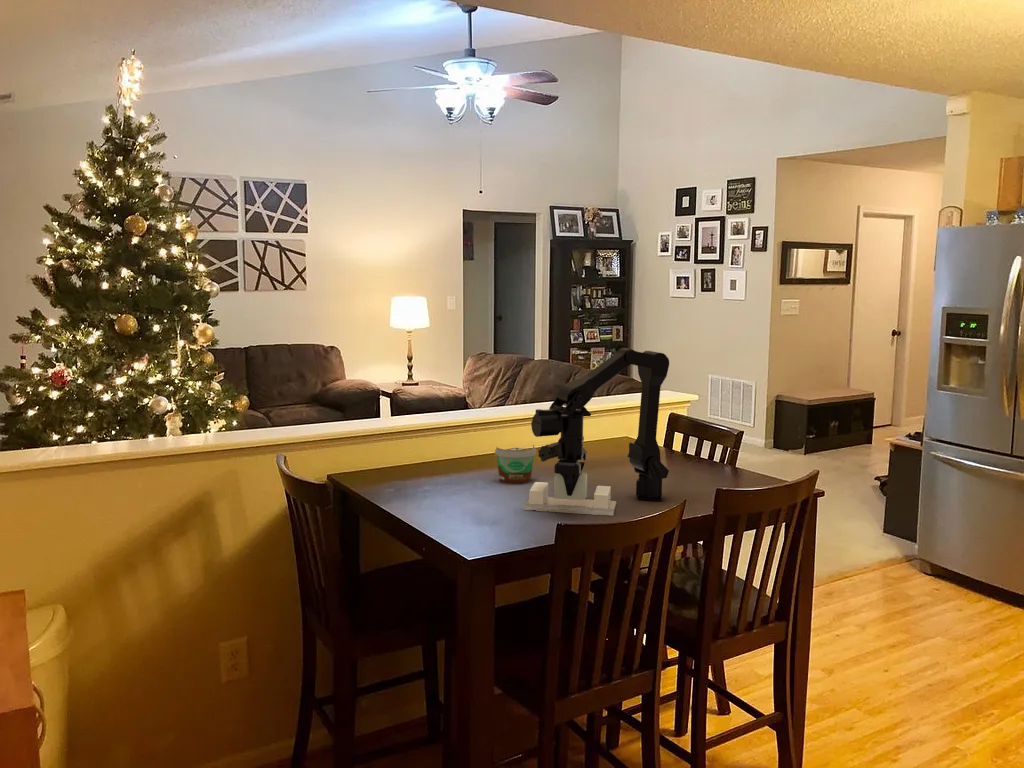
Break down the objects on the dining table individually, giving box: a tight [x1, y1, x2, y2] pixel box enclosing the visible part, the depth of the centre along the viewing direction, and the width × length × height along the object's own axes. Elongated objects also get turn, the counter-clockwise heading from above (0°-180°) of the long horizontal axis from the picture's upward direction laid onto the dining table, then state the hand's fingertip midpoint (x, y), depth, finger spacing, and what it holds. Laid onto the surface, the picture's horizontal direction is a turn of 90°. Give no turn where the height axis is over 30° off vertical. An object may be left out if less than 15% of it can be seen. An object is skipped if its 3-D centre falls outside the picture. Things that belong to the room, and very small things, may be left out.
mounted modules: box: [528, 481, 612, 509], centre depth 215 cm, size 20×9×4 cm, turn 79°
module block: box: [553, 472, 588, 500], centre depth 215 cm, size 4×8×6 cm, turn 79°
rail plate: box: [522, 496, 617, 517], centre depth 215 cm, size 23×10×2 cm, turn 79°
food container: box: [494, 445, 537, 485], centre depth 240 cm, size 12×6×10 cm, turn 105°
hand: (570, 493), depth 215 cm, fingers closed on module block, 4 cm apart
